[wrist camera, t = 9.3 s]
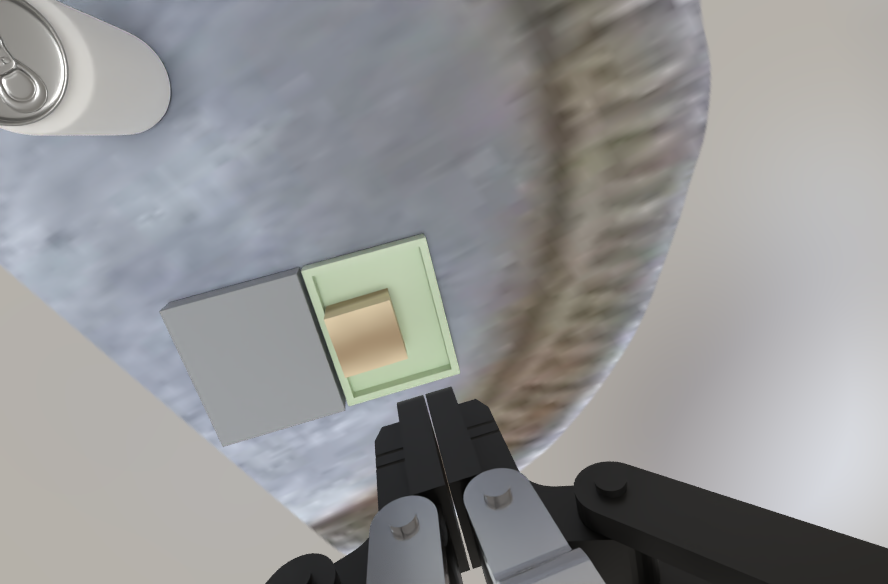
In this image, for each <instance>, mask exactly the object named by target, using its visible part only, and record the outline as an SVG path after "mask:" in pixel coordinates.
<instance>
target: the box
mask: <svg viewBox="0 0 888 584" xmlns="http://www.w3.org/2000/svg"><path fill="white" fill-rule="evenodd" d="M301 272H302V275H303V278H304V281H305V284H306V287H307V289H308V292H309V295H310V298H311V301H312V304H313V306H314V309H315V312H316V315H317V318H318V321H319V323H320V326H321V329H322V332H323V335H324V338H325V340H326V343H327V346H328V349H329V352H330V355H331V357H332V360H333V363H334V366H335V369H336V372H337V374H338V377H339V380H340V383H341V386H342V389H343V391H344V394H345V397H346V400H347V403H348V406H352V405H355V404H358V403H362V402H365V401H369V400H372V399H375V398H379V397H382V396H385V395H389V394H392V393H395V392H399V391H402V390H406V389H409V388H412V387H416V386H419V385H422V384H426V383H429V382H433V381H436V380H439V379H443V378H446V377H449V376H453V375H456V374H459V373H460V370H459V366H458V363H457V359H456V355H455V351H454V347H453V343H452V339H451V335H450V331H449V327H448V323H447V320H446V316H445V312H444V308H443V304H442V300H441V296H440V292H439V288H438V284H437V280H436V276H435V273H434V269H433V265H432V261H431V257H430V253H429V249H428V245H427V241H426V237H425V236H424V234H420V235H416V236H412V237H409V238H405V239H401V240H398V241H394V242H390V243H387V244H383V245H379V246H375V247H372V248H368V249H364V250H361V251H357V252H353V253H350V254H346V255H342V256H339V257H335V258H331V259H328V260H324V261H320V262H317V263H313V264H309V265H306V266H303V268H302V270H301ZM386 288H388V291H389V294H390V298H391V301H392V304H393V307H394V310H395V314H396V317H397V320H398V323H399V326H400V330H401V333H402V336H403V339H404V342H405V347H406V351H407V356H408V359H406V360H402V361H399V362H396V363H393V364H389V365H386V366H383V367H380V368H376V369H373V370H370V371H367V372H363V373H360V374H357V375H354V376H351V377H347V378H345V376H344V373H343V371H342V368H341V365H340V363H339V360H338V357H337V354H336V352H335V349H334V346H333V344H332V341H331V338H330V336H329V333H328V330H327V327H326V325H325V322H324V316H325V310H326V306H329V305H332V304H336V303H339V302H342V301H346V300H349V299H352V298H356V297H359V296H362V295H366V294H369V293H373V292H376V291H379V290H383V289H386Z"/></svg>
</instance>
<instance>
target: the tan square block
mask: <svg viewBox="0 0 888 584" xmlns="http://www.w3.org/2000/svg"><path fill="white" fill-rule="evenodd" d="M324 322H325V325H326V327H327V330H328V333H329V336H330V338H331V341H332V344H333V346H334V349H335V352H336V354H337V357H338V360H339V363H340V365H341V368H342V371H343V373H344V376H345V378H347V377H351V376H354V375H357V374H360V373H363V372H367V371H370V370H373V369H376V368H380V367H383V366H386V365H389V364H393V363H396V362H399V361H402V360H406V359H408V356H407V351H406V347H405V342H404V339H403V336H402V333H401V330H400V326H399V323H398V320H397V317H396V314H395V310H394V307H393V304H392V301H391V298H390V294H389V291H388V288H386V289H383V290H379V291H376V292H373V293H369V294H366V295H362V296H359V297H356V298H352V299H349V300H346V301H342V302H339V303H336V304H332V305H329V306H326V310H325V316H324Z"/></svg>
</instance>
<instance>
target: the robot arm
mask: <svg viewBox="0 0 888 584" xmlns="http://www.w3.org/2000/svg"><path fill="white" fill-rule="evenodd" d="M426 398H427V402H428V406H429V410H430V414H431V418H432V422H433V426H434V429H435V433H436V437H437V441H438V445H439V448H438V445H437V441H436V438H435V434H434V431H433V427H432V424H431V420H430V417H429V413H428V410H427V406H426V403H425V399H424V396H423V395H421V396H418V397H415V398H411V399H408V400H405V401H401V402H398V403H397V409H398V416H399V422H398V423H394V424H391V425H388V426H384V427H382V428H381V430H380V432H379V434H378V436H377V438H376V440H375V455H376V468H377V470H376V473H377V491H378V509H379V512H378V513H377V514H376V516H375V517H374V519H373V521H372V523H371V526H370V533H369V538H368V539H367V540H366V541H365V542H364V543H363V544H362V545H361V546H360V547H359V548H357V549H356V550H354V551H353V552H352V553H350V554H348V555H347V556H345V557H344V558H342V559H340V560H339V561H337V562H335V563H334V564H333V562H332V561H331V559H329V558H328V557H327V556H324V555H322V554H314V553H312V554H306V555H302V556H299V557H297V558H295V559H293V560H291V561H289V562H288V563H286V564H285V565H283V566H282V567H281V568H280V569H278V570H277V571H276V572H275V573H274V574H273V575H272V577H271V578H270V579H269V580H268V581H267V582H266V584H463V582H462V577H461V573H462V572H465V571H468V570H470V568H469V564H468V561H467V557H466V552H465V548H464V545H463V541H462V537H461V533H460V529H459V525H458V521H457V517H456V513H455V510H454V506H453V502H452V498H451V494H452V497H453V501H454V504H455V508H456V511H457V515H458V518H459V522H460V525H461V529H462V532H463V536H464V539H465V543H466V546H467V550H468V553H469V557H470V560H471V563H472V567H473V569H474V568H477V567H480V566H482V569H483V573H484V576H485V579H486V582H487V584H888V548H885V547H882V546H879V545H875V544H872V543H869V542H866V541H863V540H860V539H857V538H854V537H851V536H848V535H845V534H841V533H838V532H835V531H832V530H829V529H826V528H823V527H820V526H816V525H814V524H810V523H807V522H804V521H801V520H798V519H795V518H792V517H789V516H786V515H782V514H779V513H776V512H773V511H770V510H767V509H764V508H761V507H758V506H755V505H752V504H749V503H746V502H742V501H739V500H736V499H733V498H730V497H727V496H724V495H721V494H717V493H714V492H711V491H708V490H705V489H702V488H699V487H696V486H693V485H690V484H687V483H684V482H680V481H677V480H674V479H671V478H668V477H665V476H662V475H659V474H656V473H652V472H649V471H646V470H643V469H640V468H637V467H634V466H631V465H627V464H624V463H620V462H600V463H595V464H593V465H590V466H588V467H587V468H585V469H584V470H582V471H581V472H580V473H579V474H578V476H577V477H576V479H575V482H574V486H558V487H551V486H543V485H539V484H536V483H533V482H531V481H529V480H528V479H527V478H526V477H525V476H524V475H523V474H522V473H520V472H519V470H518V468H517V466H516V464H515V462H514V460H513V458H512V456H511V454H510V451H509V449H508V447H507V445H506V443H505V441H504V439H503V437H502V435H501V433H500V431H499V428H498V426H497V424H496V422H495V420H494V418H493V416H492V414H491V411H490V409H489V407H487V406H486V405H484V404H483V403H481V402H480V401H478V400H477V399H474V400H471V401H467V402H464V403H461V404H458V403H457V400H456V397H455V395H454V392H453V389H452V387H448V388H445V389H441V390H438V391H435V392H431V393H428V394H426ZM439 449H440V452H439ZM440 453H441V455H440ZM441 456H442V459H441ZM442 460H443V463H442ZM443 464H444V467H443ZM444 468H445V471H444ZM445 472H446V474H445ZM446 476H447V478H446ZM447 480H448V482H447ZM448 484H449V486H448ZM449 487H450V490H449ZM450 491H451V494H450Z"/></svg>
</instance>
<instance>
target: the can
mask: <svg viewBox="0 0 888 584" xmlns="http://www.w3.org/2000/svg"><path fill="white" fill-rule="evenodd" d="M169 101H170V82H169V77H168V74H167V71H166V69H165V67H164V65H163V63H162V61H161V60H160V58H159V57H158V55H157V54H156V53H155V52H154V51H153V50H152V49H151V48H150V47H149V46H148V45H147V44H146V43H145V42H143V41H142V40H141V39H139V38H138V37H136V36H134V35H132V34H130V33H128V32H126V31H124V30H122V29H120V28H118V27H115V26H113V25H111V24H109V23H106V22H104V21H102V20H99V19H97V18H95V17H93V16H90V15H88V14H86V13H83V12H81V11H79V10H76V9H74V8H72V7H70V6H67V5H65V4H63V3H60V2H58V1H56V0H0V128H2V129H5V130H8V131H11V132H15V133H20V134H26V135H37V136H94V135H132V134H138V133H142V132H144V131H146V130H148V129H150V128H151V127H153V126H154V125H155V124H156V123H158V122H159V121H160V120H161V118H162V117H163V116H164V114H165V113H166V111H167V108H168V105H169Z"/></svg>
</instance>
